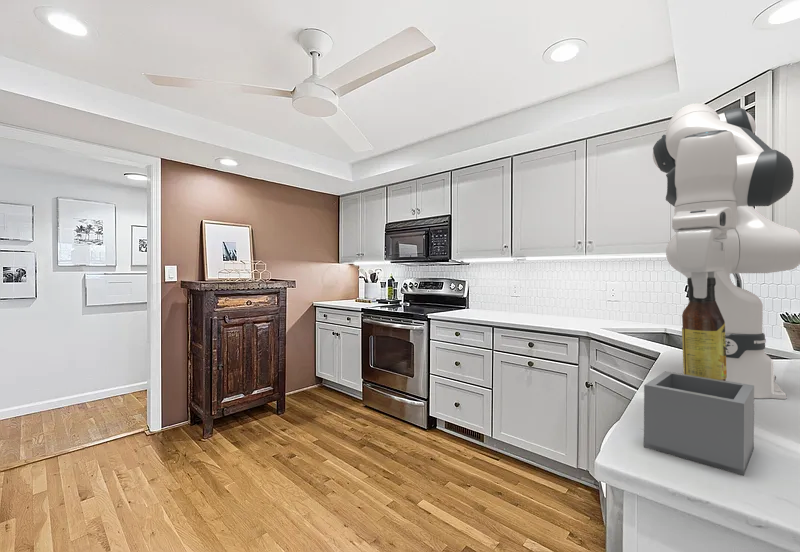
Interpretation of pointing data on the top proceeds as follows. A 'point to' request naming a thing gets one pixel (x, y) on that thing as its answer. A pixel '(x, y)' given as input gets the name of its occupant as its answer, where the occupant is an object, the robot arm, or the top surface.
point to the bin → (700, 420)
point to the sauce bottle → (704, 336)
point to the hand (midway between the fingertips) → (703, 297)
